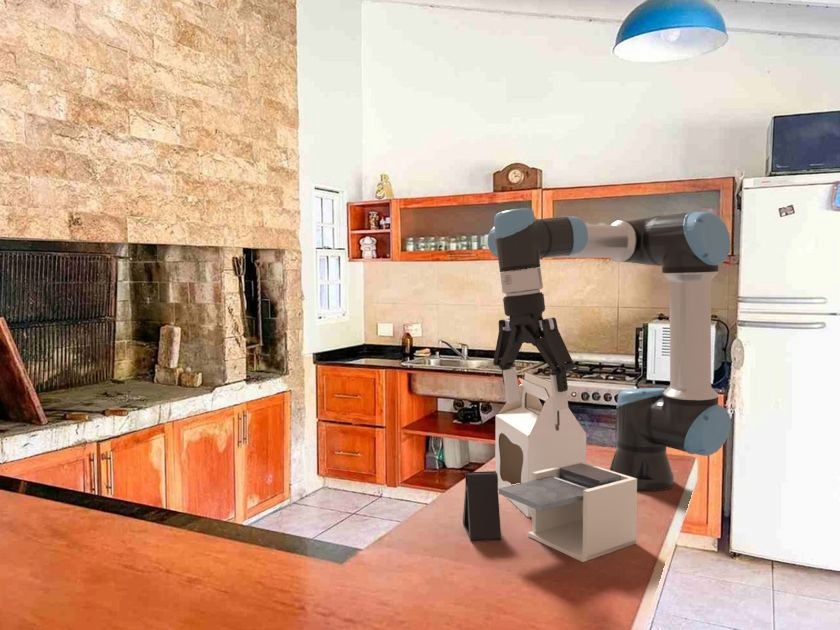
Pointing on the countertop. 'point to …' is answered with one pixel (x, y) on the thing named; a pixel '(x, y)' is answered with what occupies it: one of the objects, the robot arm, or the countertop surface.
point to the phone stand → (481, 506)
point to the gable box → (535, 436)
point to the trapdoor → (559, 487)
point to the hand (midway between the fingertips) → (536, 405)
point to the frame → (589, 518)
